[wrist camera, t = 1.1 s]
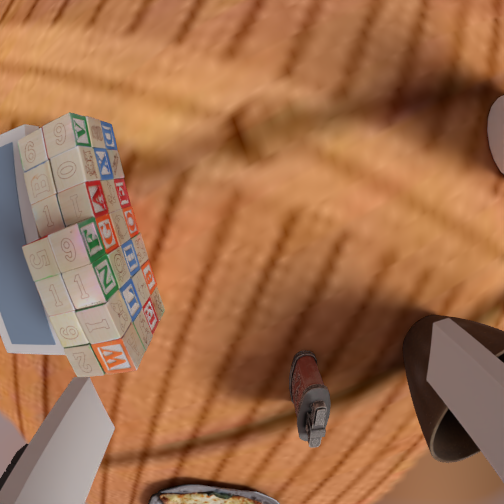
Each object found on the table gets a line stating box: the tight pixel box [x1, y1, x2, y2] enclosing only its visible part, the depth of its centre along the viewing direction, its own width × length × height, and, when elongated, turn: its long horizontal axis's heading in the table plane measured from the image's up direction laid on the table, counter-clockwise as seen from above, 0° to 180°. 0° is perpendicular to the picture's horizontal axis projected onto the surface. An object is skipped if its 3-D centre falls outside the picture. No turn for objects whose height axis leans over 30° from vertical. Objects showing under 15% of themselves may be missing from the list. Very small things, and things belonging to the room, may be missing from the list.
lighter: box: [289, 350, 330, 447], centre depth 33 cm, size 8×3×10 cm, turn 0°
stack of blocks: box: [18, 113, 165, 377], centre depth 27 cm, size 21×6×12 cm, turn 14°
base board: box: [0, 124, 66, 355], centre depth 31 cm, size 27×12×3 cm, turn 7°
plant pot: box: [403, 315, 504, 463], centre depth 30 cm, size 15×15×16 cm
